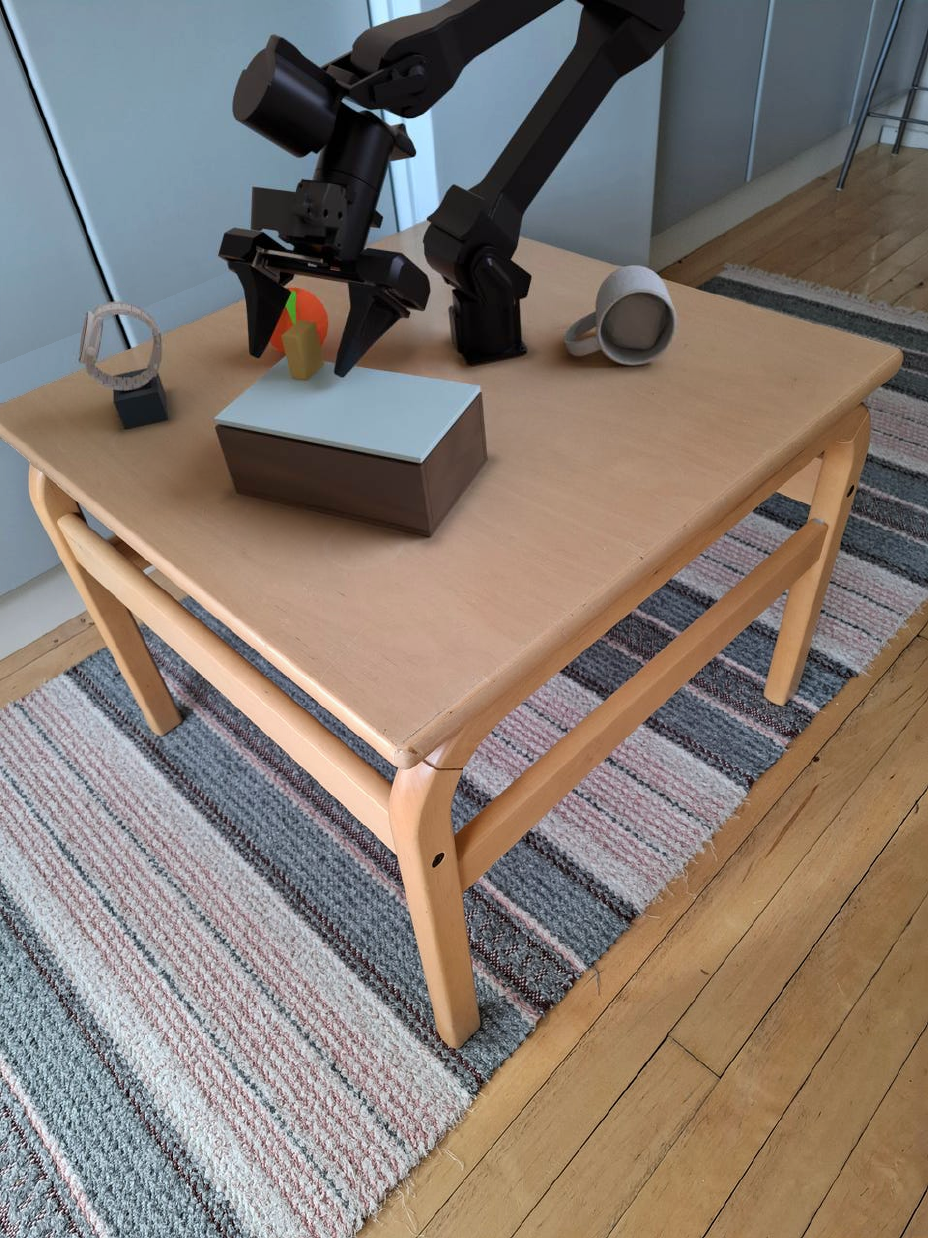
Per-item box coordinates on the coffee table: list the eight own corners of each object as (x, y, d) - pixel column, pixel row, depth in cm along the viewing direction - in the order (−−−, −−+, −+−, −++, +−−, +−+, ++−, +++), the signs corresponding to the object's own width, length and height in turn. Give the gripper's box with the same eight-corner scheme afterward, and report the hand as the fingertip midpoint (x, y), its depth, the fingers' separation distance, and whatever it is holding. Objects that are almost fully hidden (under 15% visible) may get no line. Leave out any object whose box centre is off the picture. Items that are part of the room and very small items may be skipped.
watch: (104, 407, 93) (61, 305, 86) (182, 389, 94) (147, 287, 87) (104, 434, 89) (60, 330, 82) (186, 415, 90) (149, 311, 83)
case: (304, 425, 87) (288, 361, 82) (488, 460, 80) (482, 391, 75) (236, 493, 80) (214, 426, 75) (430, 537, 73) (420, 467, 68)
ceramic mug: (664, 324, 95) (667, 251, 89) (675, 363, 89) (679, 287, 84) (562, 333, 96) (560, 262, 90) (566, 372, 90) (564, 298, 85)
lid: (286, 360, 82) (275, 312, 79) (480, 390, 75) (476, 340, 72) (214, 423, 75) (199, 374, 72) (421, 463, 68) (413, 411, 65)
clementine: (339, 366, 95) (325, 301, 90) (273, 378, 94) (256, 313, 89) (330, 332, 101) (317, 269, 96) (268, 344, 100) (252, 281, 95)
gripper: (200, 126, 73) (148, 315, 74) (391, 143, 65) (330, 354, 66) (282, 193, 83) (236, 358, 84) (456, 215, 75) (403, 397, 76)
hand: (295, 366), depth 78 cm, fingers open, 9 cm apart
